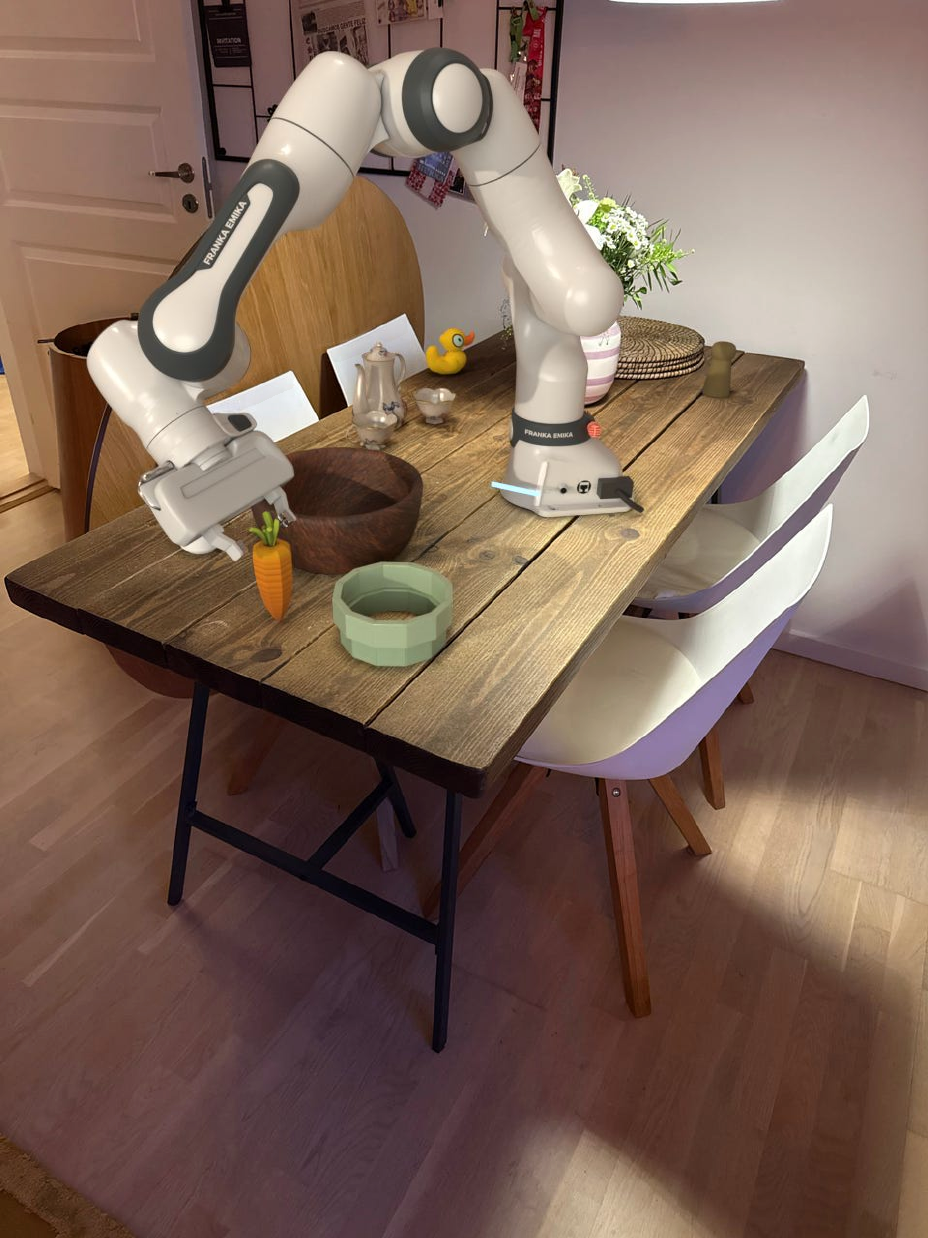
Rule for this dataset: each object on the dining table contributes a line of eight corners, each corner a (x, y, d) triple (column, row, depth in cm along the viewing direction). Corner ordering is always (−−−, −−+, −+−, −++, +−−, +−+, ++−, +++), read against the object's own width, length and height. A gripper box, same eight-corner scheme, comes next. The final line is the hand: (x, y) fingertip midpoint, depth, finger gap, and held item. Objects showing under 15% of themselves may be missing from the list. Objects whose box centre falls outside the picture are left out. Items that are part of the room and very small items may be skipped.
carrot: (290, 633, 110) (279, 528, 102) (253, 628, 111) (239, 523, 103) (304, 612, 114) (294, 509, 106) (268, 607, 115) (256, 505, 107)
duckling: (468, 367, 202) (470, 323, 196) (477, 374, 198) (479, 329, 192) (422, 371, 198) (422, 327, 193) (430, 379, 194) (430, 333, 189)
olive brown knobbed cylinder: (700, 387, 195) (709, 337, 189) (727, 389, 194) (737, 339, 188) (702, 396, 190) (712, 345, 184) (730, 398, 189) (741, 347, 183)
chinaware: (381, 469, 156) (387, 381, 147) (309, 439, 162) (310, 352, 153) (463, 423, 176) (473, 342, 167) (396, 398, 183) (402, 319, 173)
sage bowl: (451, 605, 117) (452, 562, 113) (451, 671, 105) (452, 625, 101) (342, 603, 116) (340, 560, 113) (329, 669, 104) (326, 623, 101)
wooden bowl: (401, 596, 118) (400, 528, 113) (227, 575, 122) (217, 508, 116) (438, 514, 139) (438, 454, 133) (288, 498, 142) (282, 439, 136)
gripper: (140, 466, 95) (223, 566, 97) (258, 409, 110) (328, 496, 112) (118, 494, 99) (197, 589, 101) (235, 435, 114) (302, 519, 116)
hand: (267, 540), depth 106 cm, fingers open, 8 cm apart
